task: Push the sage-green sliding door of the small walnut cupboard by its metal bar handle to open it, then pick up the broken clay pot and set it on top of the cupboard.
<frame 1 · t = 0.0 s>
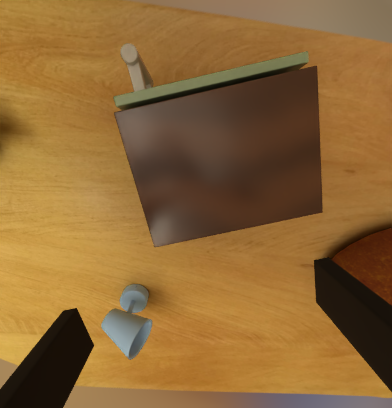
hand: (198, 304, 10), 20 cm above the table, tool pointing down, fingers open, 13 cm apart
sliding door: (201, 76, 20), point 6 cm above the table, slide at 0.0 cm
cupboard: (211, 160, 28), on the table
spotlight: (138, 294, 34), on the table
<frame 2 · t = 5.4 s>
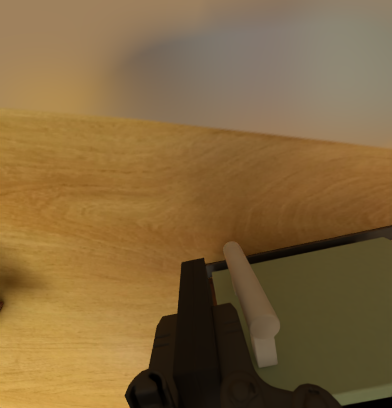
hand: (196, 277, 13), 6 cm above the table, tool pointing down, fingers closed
sliding door: (335, 274, 12), point 6 cm above the table, slide at 0.7 cm, touching gripper
cupboard: (290, 310, 20), on the table
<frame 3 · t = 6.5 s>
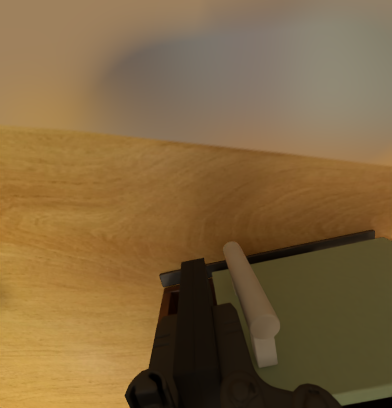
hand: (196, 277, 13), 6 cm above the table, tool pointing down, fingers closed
sliding door: (335, 274, 12), point 6 cm above the table, slide at 5.1 cm, touching gripper
cupboard: (249, 318, 21), on the table
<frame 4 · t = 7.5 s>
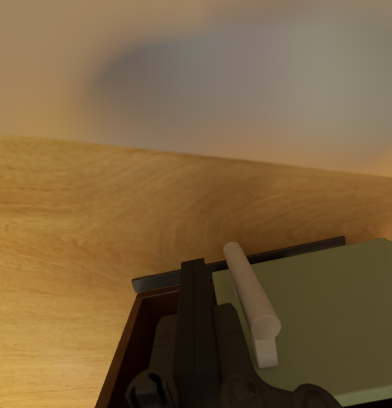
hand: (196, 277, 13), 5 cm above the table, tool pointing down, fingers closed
sliding door: (336, 275, 12), point 6 cm above the table, slide at 7.9 cm, touching gripper
cupboard: (224, 323, 21), on the table
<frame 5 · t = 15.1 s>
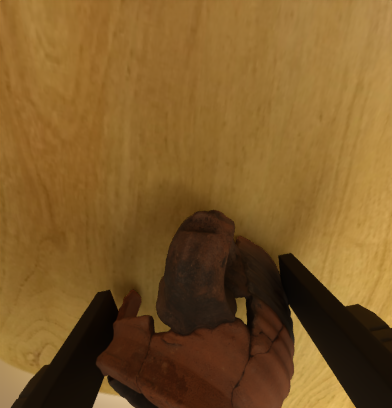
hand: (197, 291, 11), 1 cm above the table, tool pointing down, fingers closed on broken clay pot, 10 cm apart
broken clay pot: (202, 276, 13), on the table, touching gripper
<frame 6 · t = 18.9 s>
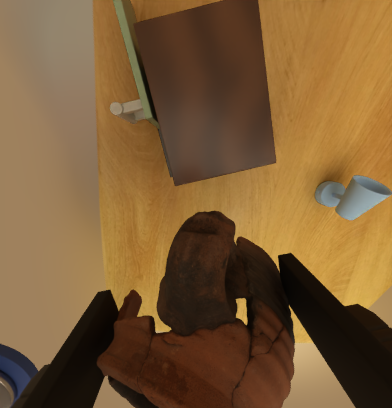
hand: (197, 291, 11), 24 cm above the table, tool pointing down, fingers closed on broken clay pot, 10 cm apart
sliding door: (124, 61, 24), point 6 cm above the table, slide at 7.9 cm
cupboard: (203, 119, 31), on the table
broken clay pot: (203, 276, 13), point 23 cm above the table, touching gripper
spotlight: (327, 190, 35), on the table
when the fingers open (13 cm above the table, at t = 22.8 s): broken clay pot stays where it is, resting on cupboard.
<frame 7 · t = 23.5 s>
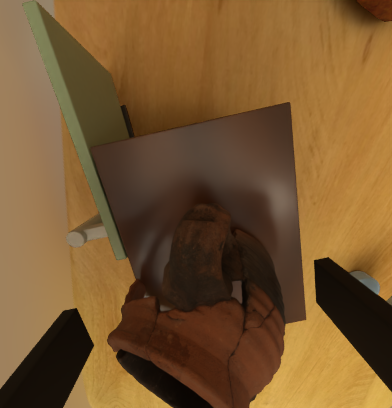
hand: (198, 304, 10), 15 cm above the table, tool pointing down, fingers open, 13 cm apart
sliding door: (93, 157, 17), point 6 cm above the table, slide at 7.9 cm
cupboard: (203, 202, 25), on the table
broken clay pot: (202, 267, 14), point 12 cm above the table, touching cupboard
spotlight: (354, 280, 29), on the table
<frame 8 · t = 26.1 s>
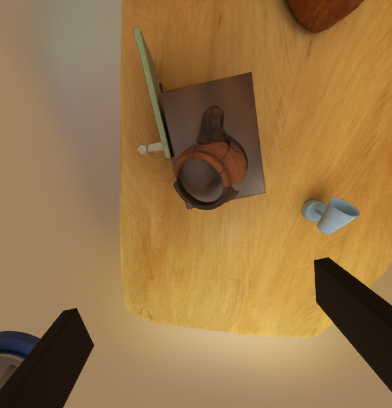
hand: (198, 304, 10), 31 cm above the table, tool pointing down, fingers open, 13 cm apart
sliding door: (147, 109, 30), point 6 cm above the table, slide at 7.9 cm
cupboard: (208, 148, 38), on the table
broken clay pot: (210, 159, 27), point 12 cm above the table, touching cupboard
spotlight: (311, 207, 42), on the table
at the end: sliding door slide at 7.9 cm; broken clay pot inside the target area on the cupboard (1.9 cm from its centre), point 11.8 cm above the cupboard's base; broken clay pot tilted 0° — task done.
